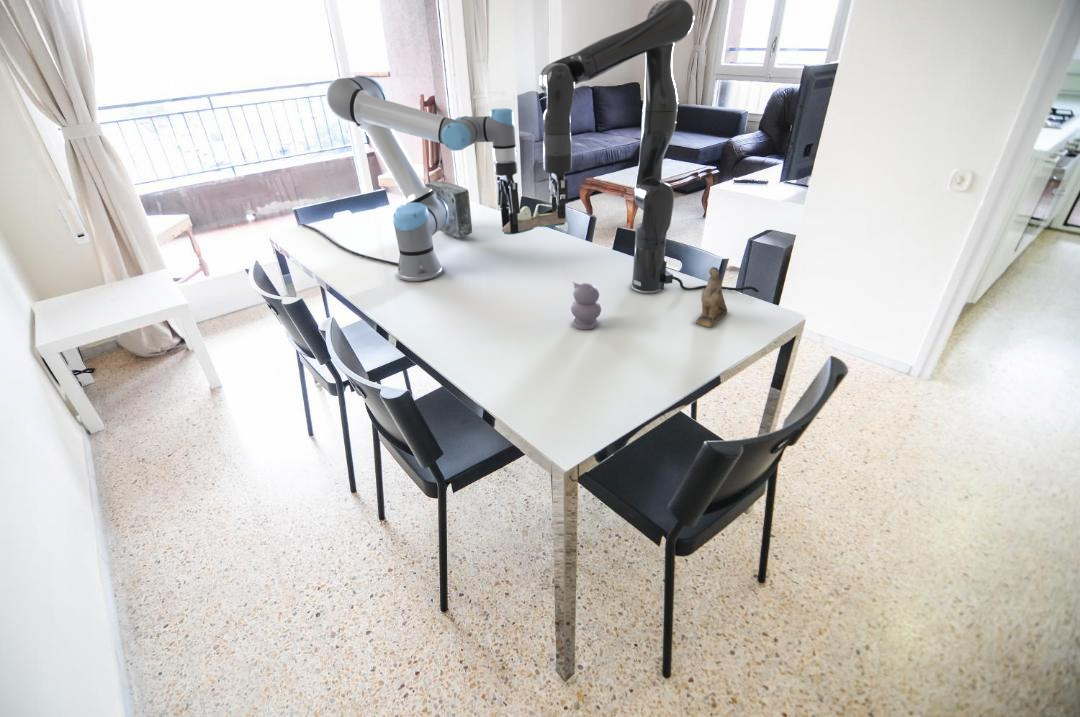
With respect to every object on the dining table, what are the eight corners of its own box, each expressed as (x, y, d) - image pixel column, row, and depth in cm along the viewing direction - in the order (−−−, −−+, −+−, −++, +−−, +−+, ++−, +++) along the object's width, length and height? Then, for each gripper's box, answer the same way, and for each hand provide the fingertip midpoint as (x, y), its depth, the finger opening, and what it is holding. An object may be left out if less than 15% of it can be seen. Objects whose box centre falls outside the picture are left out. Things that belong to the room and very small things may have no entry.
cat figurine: (606, 323, 139) (608, 283, 132) (589, 334, 134) (589, 293, 128) (582, 314, 144) (583, 276, 138) (564, 324, 139) (564, 285, 133)
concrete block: (477, 239, 207) (472, 190, 196) (458, 244, 202) (452, 193, 192) (448, 225, 225) (442, 179, 215) (430, 229, 221) (423, 182, 210)
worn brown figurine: (709, 335, 136) (713, 280, 124) (691, 329, 139) (693, 274, 128) (730, 313, 142) (736, 258, 130) (712, 307, 145) (716, 253, 133)
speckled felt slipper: (498, 231, 178) (495, 208, 173) (559, 219, 186) (558, 197, 181) (506, 237, 171) (504, 213, 167) (569, 225, 179) (569, 201, 175)
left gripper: (527, 164, 156) (531, 236, 168) (505, 155, 172) (509, 221, 184) (505, 167, 154) (510, 239, 166) (484, 158, 170) (490, 224, 182)
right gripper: (577, 155, 124) (577, 220, 133) (566, 147, 136) (566, 206, 145) (548, 157, 123) (549, 222, 132) (539, 148, 135) (541, 208, 144)
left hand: (510, 229), depth 175 cm, fingers closed on speckled felt slipper, 7 cm apart
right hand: (558, 214), depth 138 cm, fingers open, 8 cm apart
